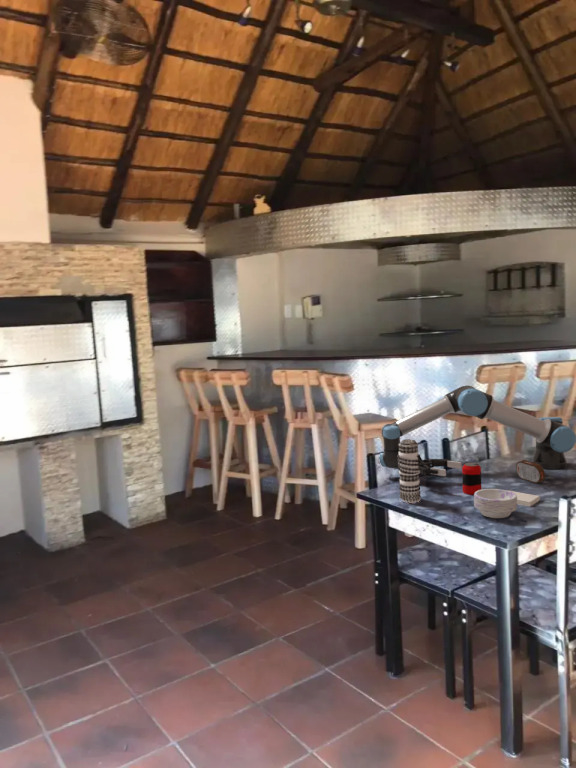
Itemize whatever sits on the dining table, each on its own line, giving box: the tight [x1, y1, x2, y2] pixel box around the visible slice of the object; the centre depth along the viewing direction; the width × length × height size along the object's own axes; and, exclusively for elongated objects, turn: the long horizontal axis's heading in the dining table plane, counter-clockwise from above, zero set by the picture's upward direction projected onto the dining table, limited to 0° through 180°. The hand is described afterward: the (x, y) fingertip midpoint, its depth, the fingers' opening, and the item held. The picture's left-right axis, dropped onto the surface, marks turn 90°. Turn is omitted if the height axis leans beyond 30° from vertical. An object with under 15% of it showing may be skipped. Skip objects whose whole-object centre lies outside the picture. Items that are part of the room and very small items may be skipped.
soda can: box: [461, 462, 482, 496], centre depth 255 cm, size 8×8×12 cm
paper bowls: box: [473, 488, 518, 519], centre depth 227 cm, size 15×15×8 cm
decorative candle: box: [397, 438, 422, 504], centre depth 248 cm, size 9×9×25 cm
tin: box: [515, 459, 546, 484], centre depth 266 cm, size 15×3×8 cm, turn 22°
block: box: [509, 490, 541, 507], centre depth 242 cm, size 2×9×13 cm
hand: (453, 469), depth 260 cm, fingers open, 13 cm apart
